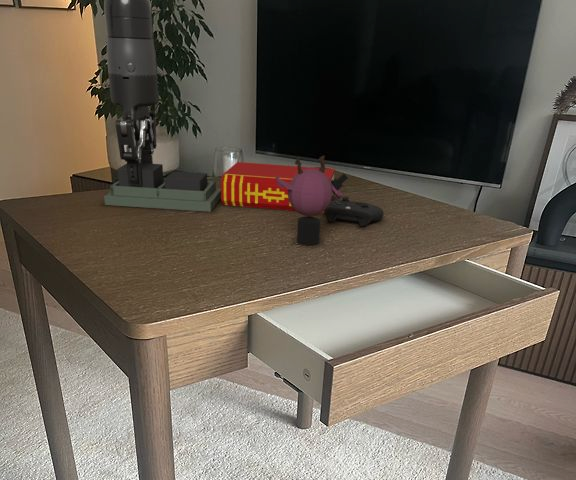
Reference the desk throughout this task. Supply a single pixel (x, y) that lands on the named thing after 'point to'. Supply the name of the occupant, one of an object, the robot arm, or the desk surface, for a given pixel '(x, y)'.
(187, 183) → the pad
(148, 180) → the pad
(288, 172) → the book
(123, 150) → the robot arm
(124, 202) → the divided tray
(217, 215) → the desk surface
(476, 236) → the desk surface
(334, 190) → the figurine
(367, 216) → the game controller
